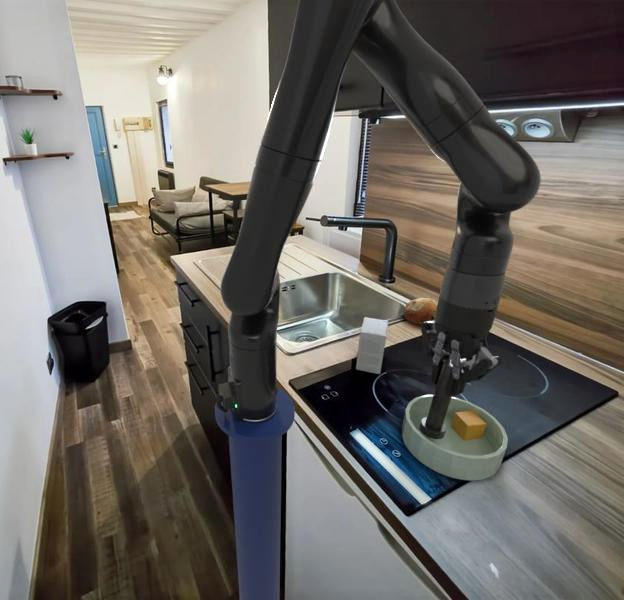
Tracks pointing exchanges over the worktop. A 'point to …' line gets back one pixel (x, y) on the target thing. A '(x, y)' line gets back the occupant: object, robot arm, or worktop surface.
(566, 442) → the worktop surface
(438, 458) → the bowl
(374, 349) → the small box
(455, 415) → the block
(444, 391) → the rod
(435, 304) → the bread roll
